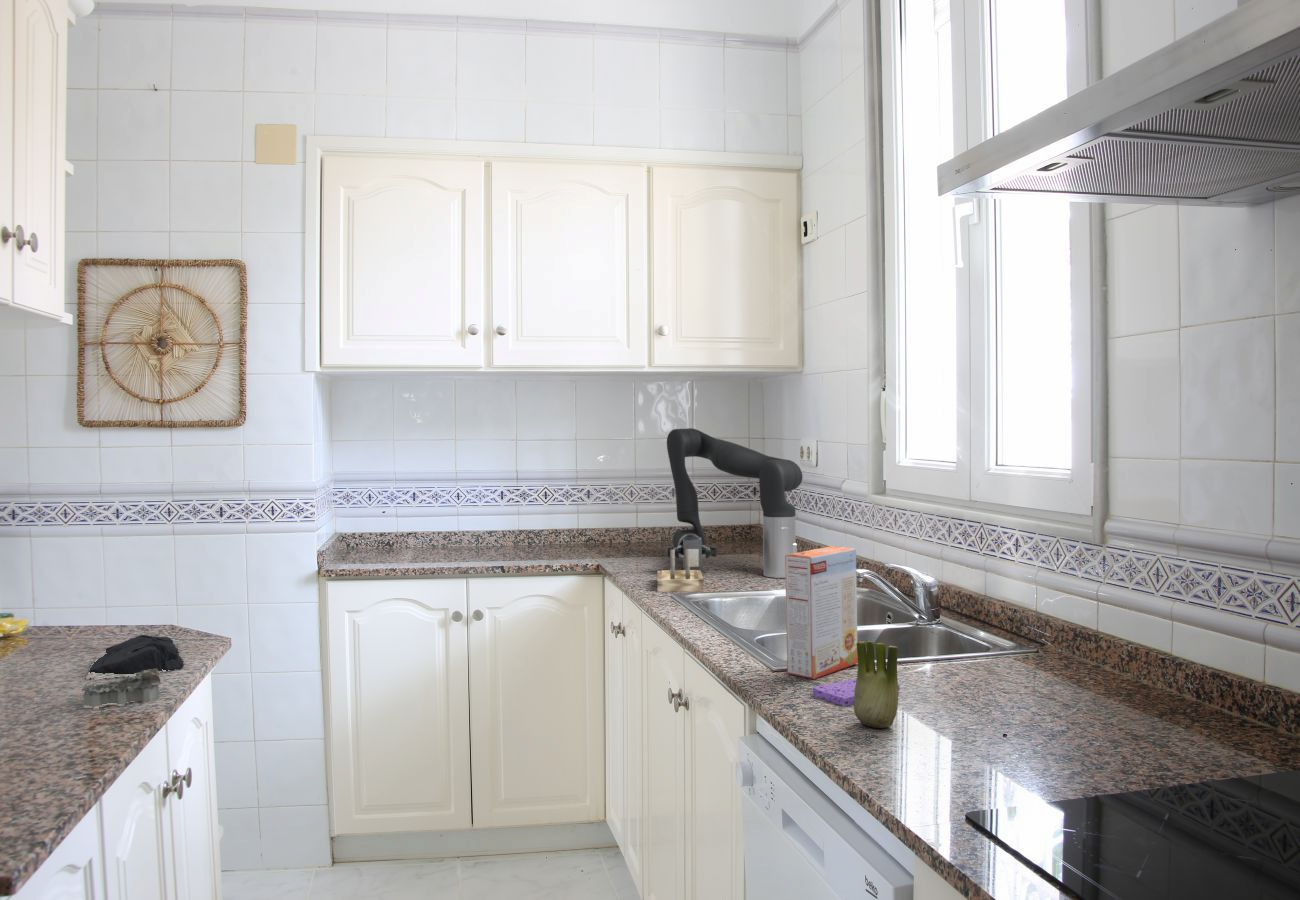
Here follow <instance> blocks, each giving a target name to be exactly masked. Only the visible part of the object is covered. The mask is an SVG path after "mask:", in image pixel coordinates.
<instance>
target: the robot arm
mask: <svg viewBox="0 0 1300 900" xmlns="http://www.w3.org/2000/svg"><path fill="white" fill-rule="evenodd" d="M666 450H667V455H668V460H669V464H670V465H669V466H670V470H671V476H672V479H673V484H674V490H675V502H676V503H675V504H676V517H677V518H676V519H677V520H678V522H680V523H686V524H689V525H691V526H693V529H692V528H691V529H678V530H675V531H674V533H673V535H672V540H671V541H672V545H668V546H667V551H666V552H667V557H668V558H670V550H671V549H674V550H675V558H676V559H679V558H682V559H683V537H701V540H702V558H705V559H709V557H717V547H716V546H715V545H713V544H712V545H709V546H708V547H707V546H706V542H707V541H706V540H707V539H706V536H705V533H704V530H703V527H702V524H701V520H700V514H699V512H700V511H699V498H698V492H697V491H696V488H695V486H694V484H693V482H692V480H691V479H690V476H689V474H688V472H687V469H686V468H687V467H686V458H695V457H697V458H703V459H706V460H709V461H710V462H711V464H713V466H714V467H715V468H716V469H717V470H719V471H721V472H724V473H727V474H729V475H732V476H738V477H744V478H751V479H758V481H759V486H758V487H759V501H760V506H761V510H762V522H763V523H762V528H763V529H762V539H763V540H762V544H763V545H762V548H763V550H762V551H763V553H762V557H763V559H762V561H763V563H762V565H763V566H762V567H763V568H762V570H763V572H762V573H763V576H764V577H767V578H776V579H777V578H778V579H781V578H782V579H784V578H785V555H787V554H792V553H798V543H797V541H796V540H797V539H796V536H797V535H796V533H797V532H796V525H797V524H796V518H797V517H796V506H795V505H794V504H791V503H790V502H789V501H787V499H786V493H787V492H790V491H794V490H796V489H797V488H799V487H800V485H801V484H802V482H803V477H804V476H803V472H802V469H801V468H800V466H799V464H797V463H796V462H795V461H793V460H790V459H787V458H786V459H784V458H779V457H776V456H775V457H774V456H770V455H766V454H764V453H761V452H759V451H756V450H754V449H752V448H748V447H746V446H743V445H740V444H737V443H734V442H732V441H727V440H724V439H720V438H715V437H713V436H711V435H708V434H707V433H704V432H703V431H701V430H700V429H696V428H692V427H690V428H675V429H672V430H670V431H669V433H668V435H667V437H666ZM785 579H786V578H785Z"/></svg>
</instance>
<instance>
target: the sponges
mask: <svg viewBox="0 0 1300 900" xmlns="http://www.w3.org/2000/svg"><path fill="white" fill-rule="evenodd" d="M856 679H857V677H856V678H852V679H850V680H849V679H848V680H843V681H838V682H833V683H827V684H823V685H816V686H813V687H812V696H813V697H816V698H819V699H821V700H825V701H828V702H830V703H834V704H837V705H840V706H842V707H847V706H851V705H854V693H855V692H854V691H855V685H856ZM900 686H901V685H900V684H898V692H899V691H900V690H901V687H900Z"/></svg>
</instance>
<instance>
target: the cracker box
mask: <svg viewBox="0 0 1300 900" xmlns="http://www.w3.org/2000/svg"><path fill="white" fill-rule="evenodd" d="M857 601H858V600H857V548H852V547H842V546H837V545H836V546H834V545H833V546H827V547H825V546H824V547H821V548H814V549H810V550H805V551H799V552H798V551H797V553H792V554H787V555H785V610H786V611H785V615H786V618H785V620H786V621H785V622H786V625H785V626H786V664H787V666H786V670H787V671H786V672H787V674H788V675H792V676H797V677H801V678H806V679H811V680H815V679H818V678H821V677H823V676H826V675H829V674H832V673H834V672H837V671H840V670H843V669H846V668H848V667H851V666H854V665H858V659H857V658H858V655H857V645H856V643H857V642H858V607H857V606H858V605H857V604H858V602H857Z"/></svg>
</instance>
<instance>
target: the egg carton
mask: <svg viewBox="0 0 1300 900" xmlns="http://www.w3.org/2000/svg"><path fill="white" fill-rule="evenodd" d="M161 684H162V682H161V679H160V673H159V671H158V668H156V669H148V670H143V671H141V672H137V674H136V676H135V677H129V676H128V677H126V678H123V679H119V680H110V681H104V682H102V683H101V684H99V683H98V684H94V683H92V684H89V683H85V684H84V685H83V687H82V689H81V691H84V693H83V695H82V698H83V706H84V705H89V706H92V707H95V706H100V705H102V704H107V703H117V704H126V703H127V702H130V701H143V702H147V703H151V702H152V701H155V699H156V700H159V698H160V685H161ZM149 701H150V702H149ZM143 702H142V703H143Z"/></svg>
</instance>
